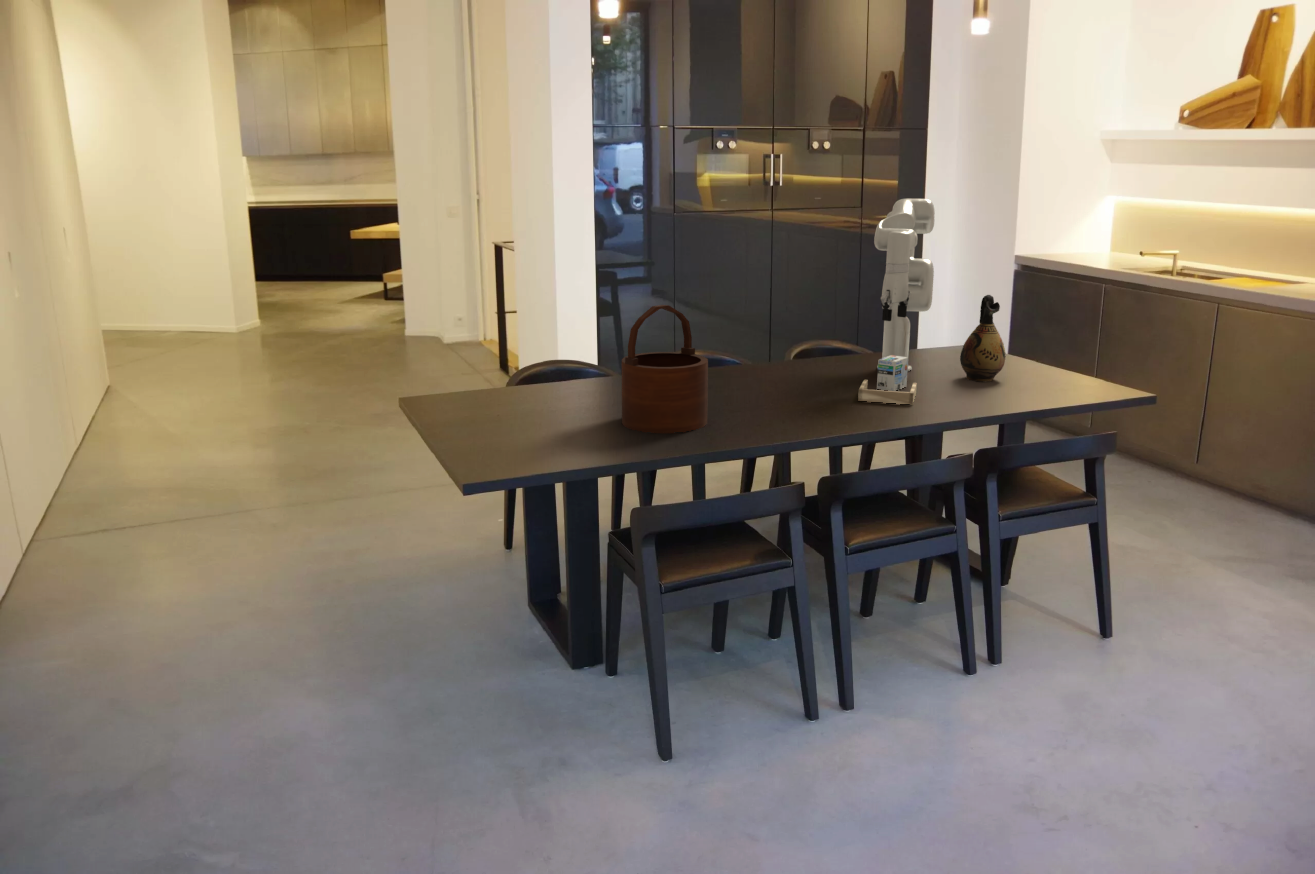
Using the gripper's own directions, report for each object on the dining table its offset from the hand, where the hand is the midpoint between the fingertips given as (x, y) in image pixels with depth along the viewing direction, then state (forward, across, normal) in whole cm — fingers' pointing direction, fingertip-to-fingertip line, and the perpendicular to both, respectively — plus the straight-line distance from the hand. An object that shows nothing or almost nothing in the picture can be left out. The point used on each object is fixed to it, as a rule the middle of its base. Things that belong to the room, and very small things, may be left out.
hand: (894, 318), depth 350 cm
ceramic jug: (+24, -33, +17) cm, 45 cm away
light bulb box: (+24, +3, +2) cm, 24 cm away
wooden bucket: (+23, +90, -24) cm, 96 cm away
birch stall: (+23, +16, +9) cm, 30 cm away
